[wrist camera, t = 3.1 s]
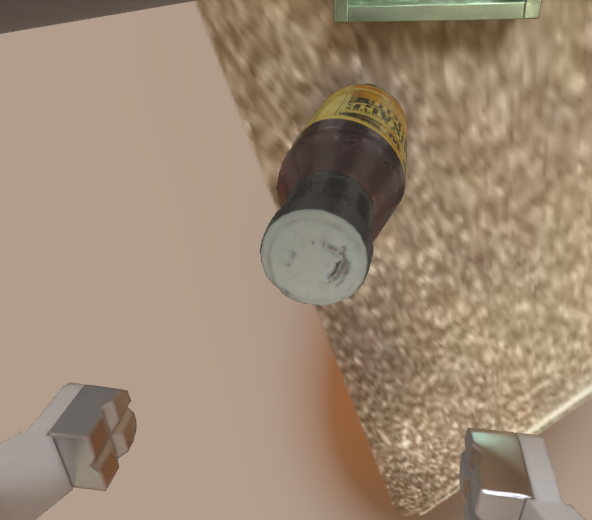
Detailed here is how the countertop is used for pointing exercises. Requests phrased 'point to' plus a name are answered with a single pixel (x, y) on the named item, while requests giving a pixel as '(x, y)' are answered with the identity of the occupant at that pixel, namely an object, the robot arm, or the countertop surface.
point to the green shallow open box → (433, 10)
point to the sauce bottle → (336, 195)
